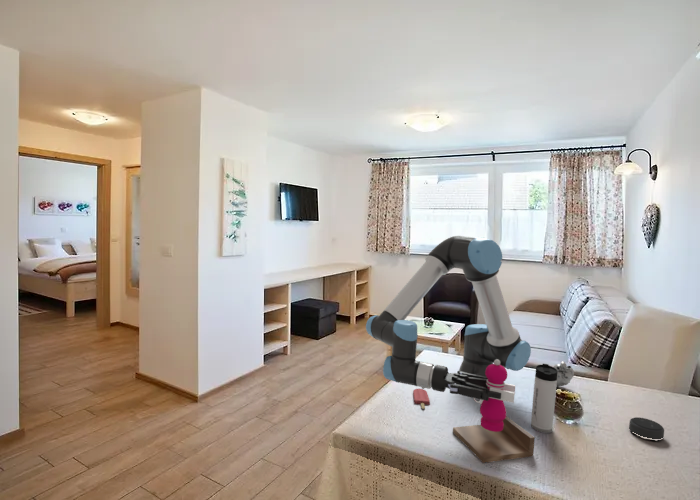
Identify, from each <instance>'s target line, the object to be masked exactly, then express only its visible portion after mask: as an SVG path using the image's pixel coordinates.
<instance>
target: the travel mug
mask: <svg viewBox="0 0 700 500" xmlns="http://www.w3.org/2000/svg"><path fill="white" fill-rule="evenodd" d="M557 372H558V371H557V369H555V368H554V366H552V365H549V363H548V364H547V363H542V364H537V365H536V366H535V373H534V385H533V395H532V405H531V406H532V409H531V419H530V426H531V428H532V429H533V430H534V431H536V432H539V433H542V434H548V433H550V434H551V433H552V432H553V427H554V417H555V406H556V405H555V404H556V393H557V386H556V385H557Z"/></svg>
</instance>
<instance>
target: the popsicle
mask: <svg viewBox="0 0 700 500" xmlns="http://www.w3.org/2000/svg"><path fill="white" fill-rule="evenodd" d="M412 394H413V403H414V404H415V405H420V407H421V409H422V410H425V409H426V406H427V405H429V406H430V405H431V401H430V398H429V394H428V391H426V389H422V388H415V389H413V391H412ZM425 405H426V406H425Z"/></svg>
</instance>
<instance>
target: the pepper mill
mask: <svg viewBox="0 0 700 500" xmlns="http://www.w3.org/2000/svg"><path fill="white" fill-rule="evenodd" d="M507 371H508V370H507V368H504V367H503V366H501V365H500V360H498V359H496V360H495V361H494V363H493V364H491V365H489V366H488V367H487V368H486V371H485V375H486V377H487V378H488V379H487V380H486V381H487V383H486V385H487V386H488V389H489V390H490V387H491V388H495V389H500V390H503V388H504V387H505V386H504V385H505V381H506V380H507V379H508V372H507ZM479 412H480V415H481V416H482V417H481V418H480V425H481V426H482V427H483V428H485V429H487V430H489V431H493V432H499V431H502V430H503V426H504V423H503V420H504V419H505V418H506V416H507V408H506V406H505V401H503V400H498V399H493V398H489V400H488V401H486V400H483V402H482V404H480V409H479Z"/></svg>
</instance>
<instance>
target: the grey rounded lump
mask: <svg viewBox="0 0 700 500" xmlns="http://www.w3.org/2000/svg"><path fill="white" fill-rule="evenodd" d="M553 367H554V368H555V369H557V371H558V372H557V385H556V387H564V386H567V385H569V383H571V380H572V379H573V377H574V376H575V372H574V369H573V368H572V365H567V363H566V362H565V361H560V363H557V364H554V366H553Z"/></svg>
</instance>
